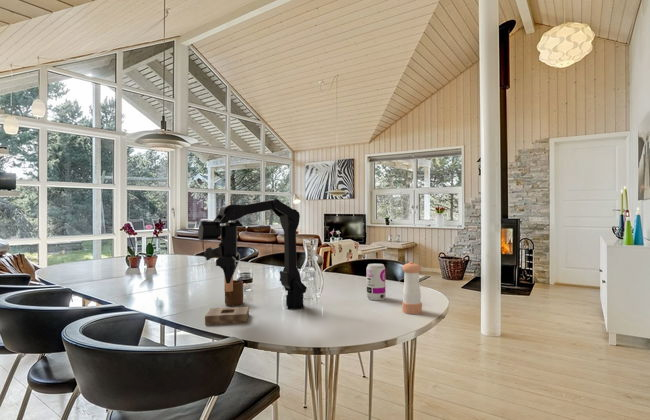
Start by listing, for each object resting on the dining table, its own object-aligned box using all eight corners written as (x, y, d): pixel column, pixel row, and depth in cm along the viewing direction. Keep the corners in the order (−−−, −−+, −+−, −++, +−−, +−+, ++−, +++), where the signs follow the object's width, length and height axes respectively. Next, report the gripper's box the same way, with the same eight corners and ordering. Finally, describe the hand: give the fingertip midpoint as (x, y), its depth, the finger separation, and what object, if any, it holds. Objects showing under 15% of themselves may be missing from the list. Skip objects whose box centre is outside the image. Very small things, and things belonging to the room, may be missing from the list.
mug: (235, 309, 142) (235, 285, 142) (217, 309, 143) (217, 285, 143) (245, 301, 154) (245, 280, 154) (229, 301, 155) (228, 279, 155)
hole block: (248, 314, 135) (248, 306, 135) (246, 322, 125) (246, 314, 125) (210, 316, 133) (210, 308, 133) (205, 324, 123) (205, 316, 123)
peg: (233, 289, 131) (233, 262, 131) (232, 291, 128) (232, 263, 128) (225, 290, 130) (225, 262, 130) (223, 291, 127) (223, 263, 127)
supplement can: (388, 297, 159) (388, 264, 159) (380, 301, 152) (380, 266, 152) (371, 295, 163) (371, 262, 163) (363, 299, 156) (363, 265, 156)
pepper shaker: (425, 311, 137) (425, 261, 137) (414, 315, 132) (414, 263, 132) (409, 307, 142) (408, 259, 142) (398, 311, 137) (398, 261, 137)
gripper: (210, 237, 137) (210, 278, 137) (200, 241, 119) (200, 288, 119) (240, 237, 139) (240, 277, 139) (234, 241, 120) (234, 287, 120)
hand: (228, 282), depth 129 cm, fingers closed on peg, 3 cm apart
